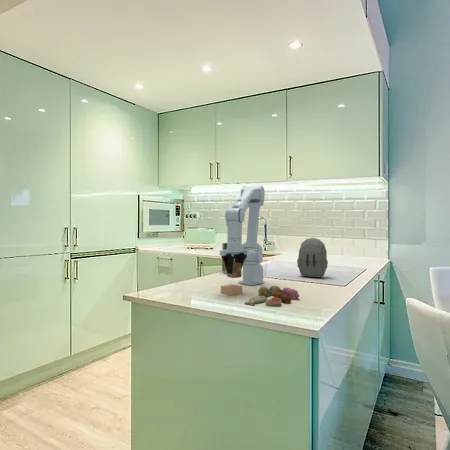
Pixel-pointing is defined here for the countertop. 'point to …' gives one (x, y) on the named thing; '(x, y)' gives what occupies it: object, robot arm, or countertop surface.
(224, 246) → the coffee box
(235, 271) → the walnut block
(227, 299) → the countertop surface
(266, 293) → the toy food set
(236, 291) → the base block
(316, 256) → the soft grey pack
